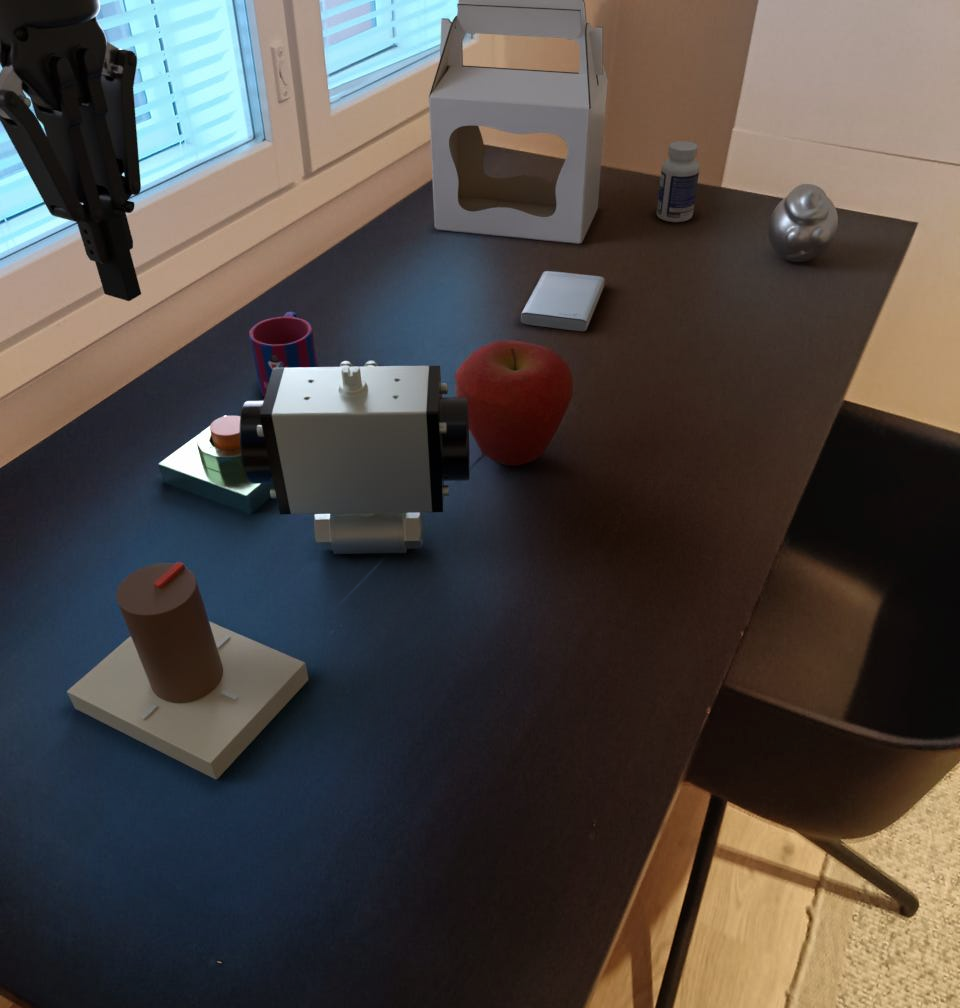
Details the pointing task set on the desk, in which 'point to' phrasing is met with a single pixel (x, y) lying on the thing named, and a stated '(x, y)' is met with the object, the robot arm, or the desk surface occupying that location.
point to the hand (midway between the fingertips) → (123, 293)
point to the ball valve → (357, 450)
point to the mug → (281, 346)
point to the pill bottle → (678, 183)
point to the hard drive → (563, 301)
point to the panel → (200, 723)
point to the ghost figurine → (803, 224)
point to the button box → (213, 474)
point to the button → (226, 432)
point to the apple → (514, 398)
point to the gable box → (517, 124)
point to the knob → (171, 631)
